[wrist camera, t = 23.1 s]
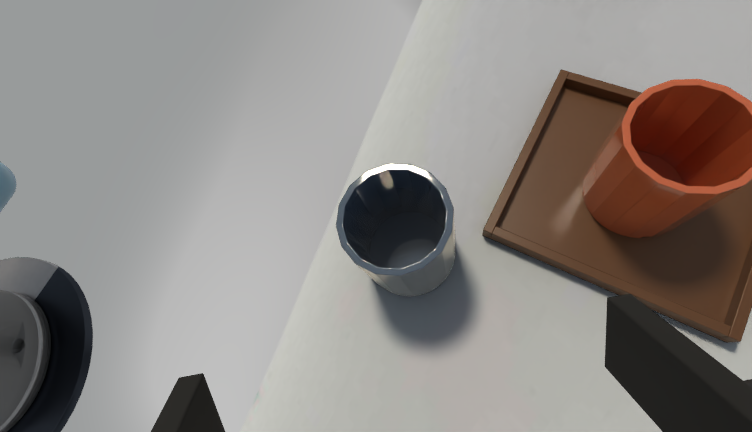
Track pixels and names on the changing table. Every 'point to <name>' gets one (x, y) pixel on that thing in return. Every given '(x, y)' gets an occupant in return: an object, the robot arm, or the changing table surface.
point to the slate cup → (399, 228)
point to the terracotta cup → (670, 158)
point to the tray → (611, 250)
